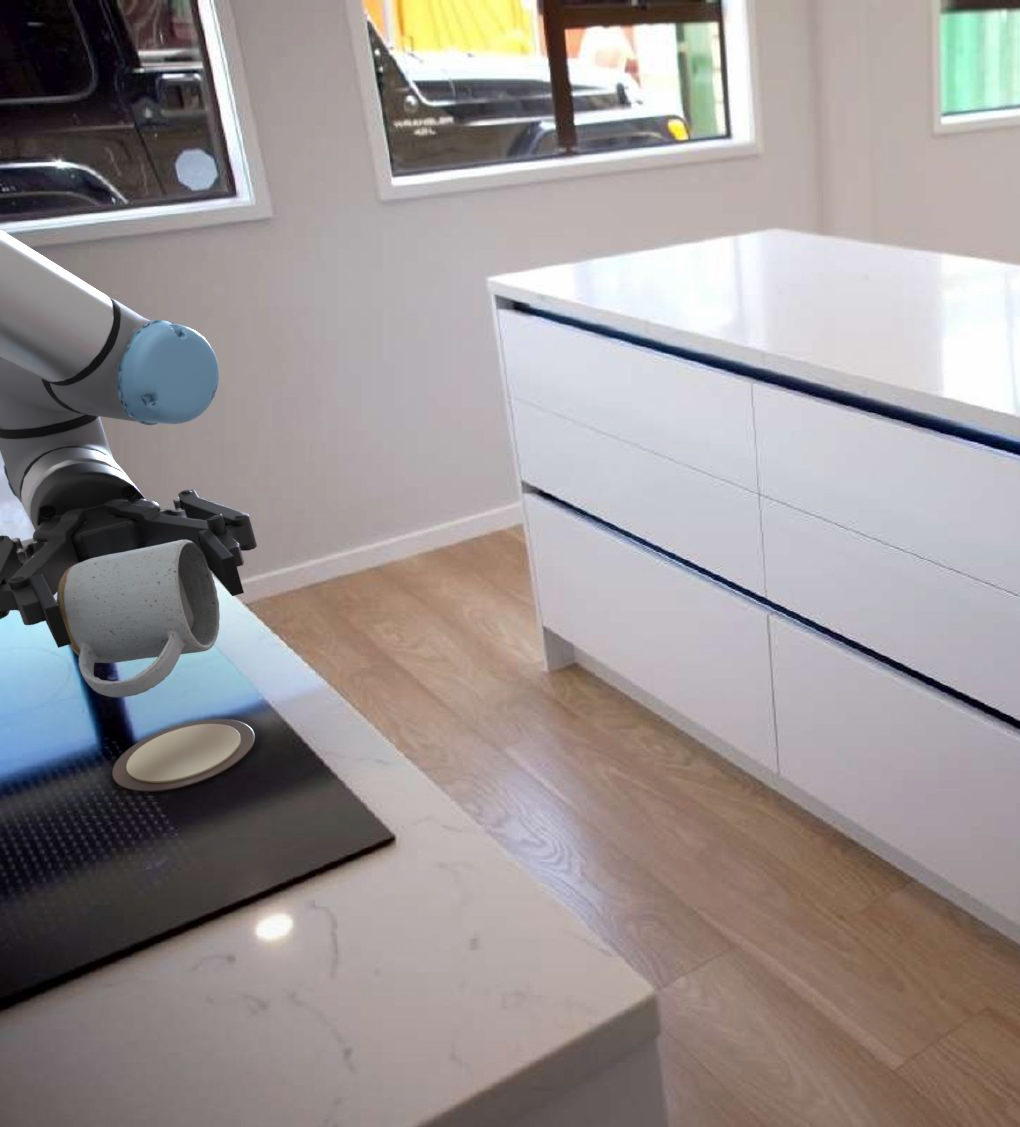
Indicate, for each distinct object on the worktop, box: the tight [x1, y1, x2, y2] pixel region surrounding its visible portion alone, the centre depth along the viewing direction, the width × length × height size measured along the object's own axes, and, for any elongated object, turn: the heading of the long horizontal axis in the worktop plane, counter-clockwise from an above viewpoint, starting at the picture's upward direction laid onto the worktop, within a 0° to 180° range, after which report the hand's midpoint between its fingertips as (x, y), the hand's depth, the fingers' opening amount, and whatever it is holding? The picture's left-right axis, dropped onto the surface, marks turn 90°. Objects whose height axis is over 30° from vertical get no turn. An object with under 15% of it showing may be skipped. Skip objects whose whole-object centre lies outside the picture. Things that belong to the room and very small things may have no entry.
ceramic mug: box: [56, 540, 221, 698], centre depth 86 cm, size 11×8×8 cm
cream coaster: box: [111, 718, 256, 793], centre depth 98 cm, size 10×10×1 cm
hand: (148, 600), depth 82 cm, fingers closed on ceramic mug, 10 cm apart
